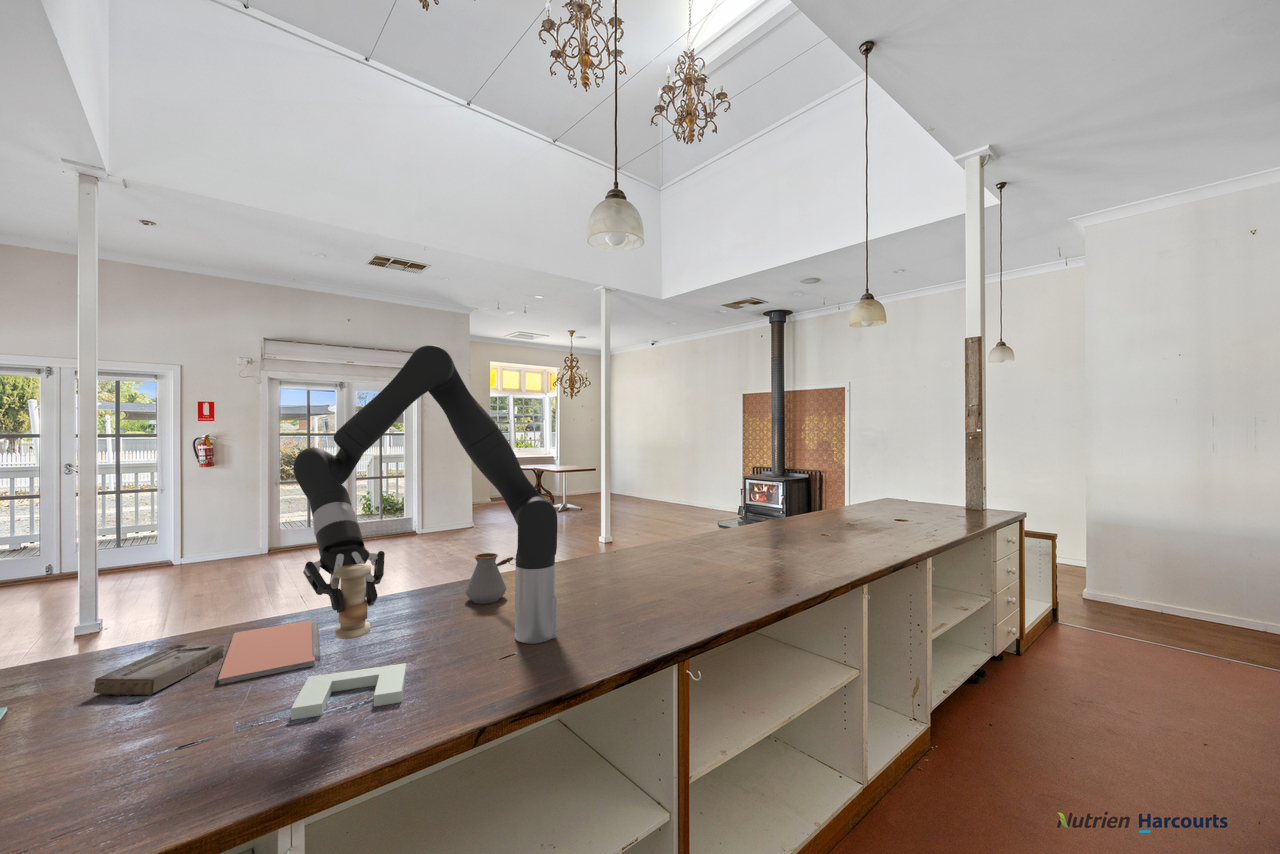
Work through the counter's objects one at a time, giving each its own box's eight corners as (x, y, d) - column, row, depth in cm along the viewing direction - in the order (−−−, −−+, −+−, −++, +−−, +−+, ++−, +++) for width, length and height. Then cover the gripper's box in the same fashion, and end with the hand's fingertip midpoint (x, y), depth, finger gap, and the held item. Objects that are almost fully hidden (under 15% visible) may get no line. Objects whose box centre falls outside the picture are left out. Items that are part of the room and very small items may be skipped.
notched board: (406, 673, 104) (406, 663, 104) (401, 702, 93) (401, 691, 93) (308, 687, 98) (308, 676, 98) (291, 720, 87) (291, 708, 87)
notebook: (320, 667, 108) (321, 657, 108) (217, 688, 99) (217, 677, 99) (318, 626, 131) (318, 618, 131) (234, 640, 122) (234, 631, 122)
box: (91, 696, 94) (92, 678, 94) (173, 657, 111) (174, 642, 112) (152, 697, 95) (153, 679, 95) (224, 658, 112) (225, 643, 112)
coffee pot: (458, 599, 151) (459, 547, 151) (494, 591, 159) (495, 542, 159) (493, 618, 136) (493, 561, 136) (531, 608, 143) (531, 554, 144)
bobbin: (372, 625, 98) (372, 562, 98) (367, 636, 93) (368, 570, 93) (338, 629, 96) (339, 565, 96) (332, 641, 91) (333, 573, 91)
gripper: (298, 523, 95) (315, 605, 86) (380, 515, 105) (403, 587, 97) (291, 547, 99) (307, 628, 90) (371, 537, 109) (392, 608, 100)
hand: (356, 606), depth 93 cm, fingers closed on bobbin, 4 cm apart
